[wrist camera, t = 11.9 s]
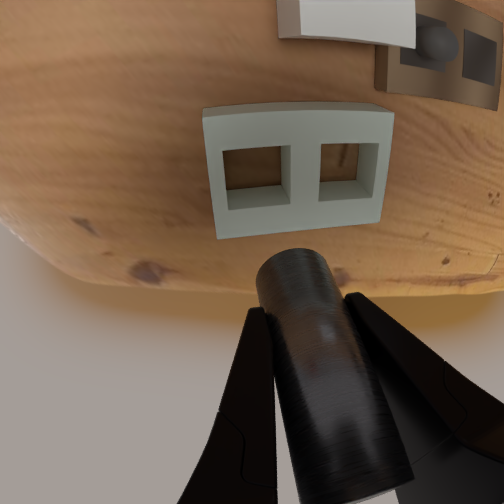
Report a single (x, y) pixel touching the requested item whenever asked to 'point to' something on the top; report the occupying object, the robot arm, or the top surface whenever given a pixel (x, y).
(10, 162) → the top surface
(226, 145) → the board
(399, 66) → the board
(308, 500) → the peg
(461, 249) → the top surface
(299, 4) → the white rectangular block
